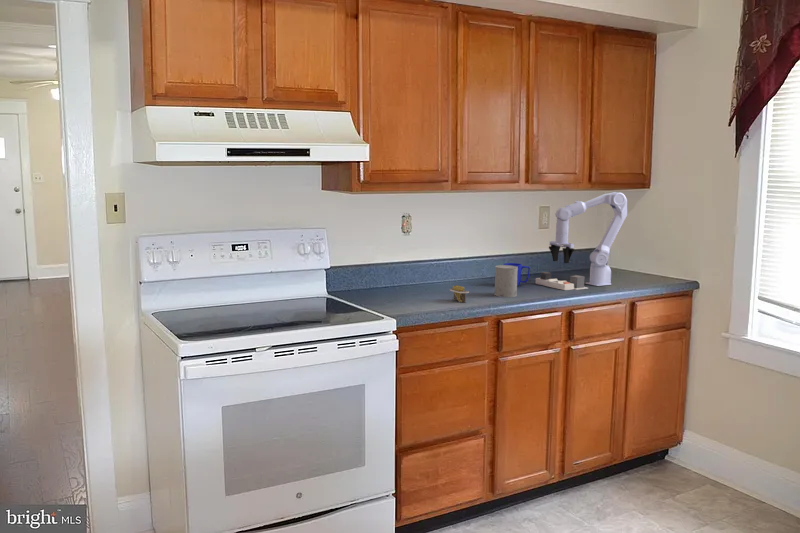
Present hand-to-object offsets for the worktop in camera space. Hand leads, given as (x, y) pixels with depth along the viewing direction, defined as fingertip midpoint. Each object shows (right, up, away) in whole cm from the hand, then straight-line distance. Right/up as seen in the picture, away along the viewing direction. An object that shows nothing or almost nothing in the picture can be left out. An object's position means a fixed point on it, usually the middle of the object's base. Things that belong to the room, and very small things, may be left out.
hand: (560, 262), depth 319 cm
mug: (-22, -11, -4) cm, 25 cm away
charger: (+5, -11, -9) cm, 16 cm away
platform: (-52, -17, -43) cm, 69 cm away
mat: (+5, -12, -9) cm, 16 cm away
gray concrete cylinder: (-30, -15, -28) cm, 44 cm away
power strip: (-4, -11, -5) cm, 13 cm away
